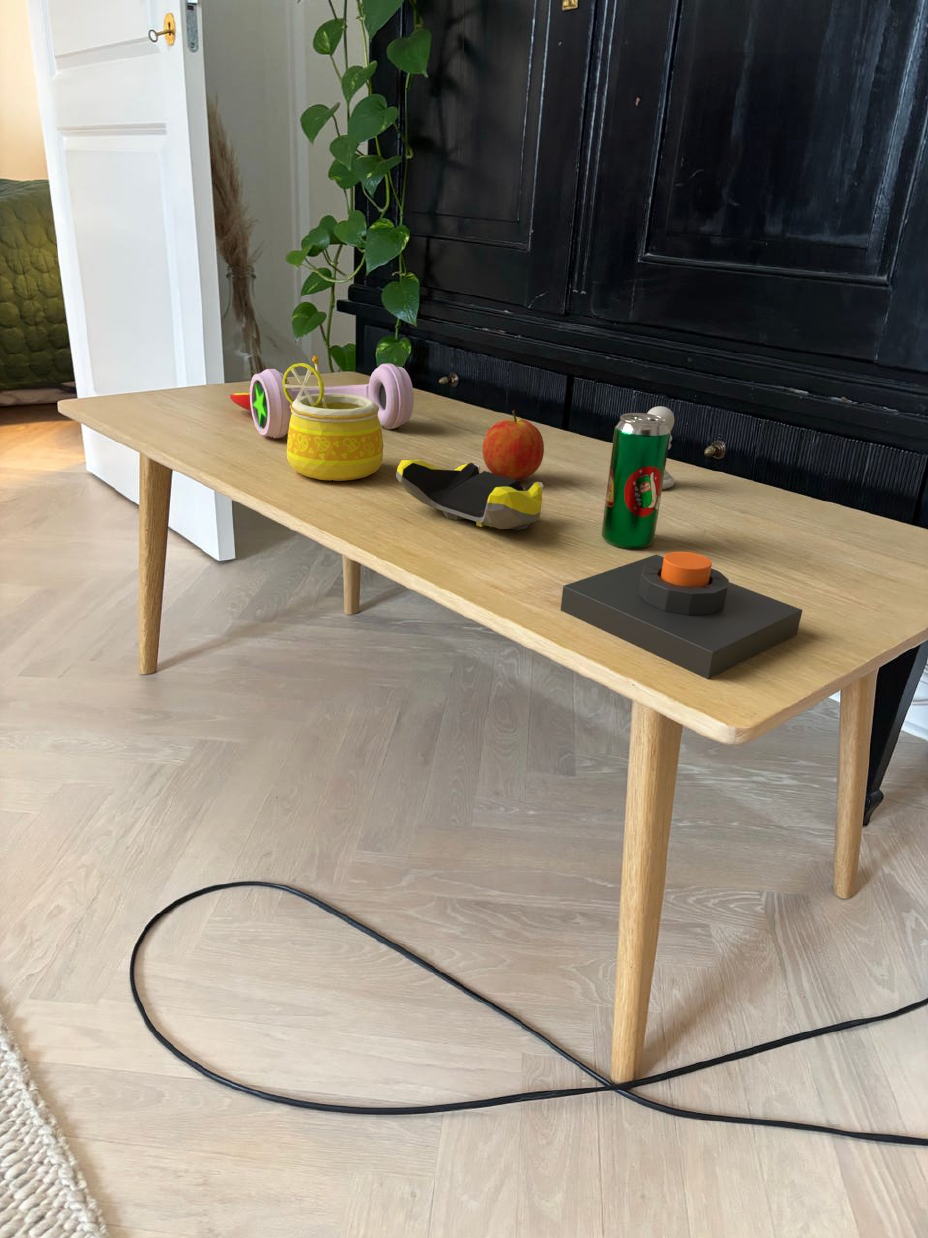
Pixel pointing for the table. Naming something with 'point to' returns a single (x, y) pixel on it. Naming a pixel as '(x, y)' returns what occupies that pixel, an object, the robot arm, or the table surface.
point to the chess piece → (669, 416)
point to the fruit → (513, 448)
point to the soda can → (635, 480)
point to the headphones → (273, 407)
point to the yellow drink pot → (332, 432)
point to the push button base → (682, 616)
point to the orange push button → (686, 569)
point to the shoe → (473, 494)
